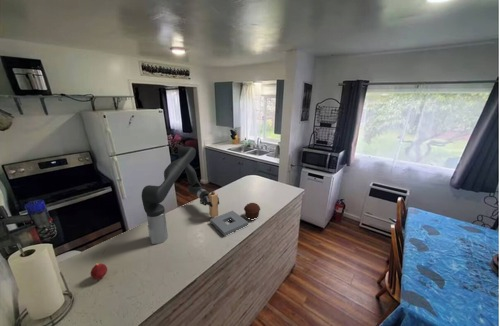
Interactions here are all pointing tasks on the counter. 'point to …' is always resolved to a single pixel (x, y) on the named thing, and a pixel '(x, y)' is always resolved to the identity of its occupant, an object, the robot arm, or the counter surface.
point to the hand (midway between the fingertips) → (215, 204)
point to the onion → (98, 271)
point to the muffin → (252, 210)
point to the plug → (214, 200)
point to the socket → (227, 229)
